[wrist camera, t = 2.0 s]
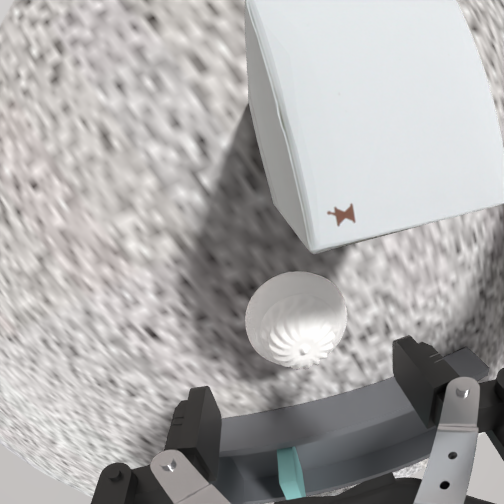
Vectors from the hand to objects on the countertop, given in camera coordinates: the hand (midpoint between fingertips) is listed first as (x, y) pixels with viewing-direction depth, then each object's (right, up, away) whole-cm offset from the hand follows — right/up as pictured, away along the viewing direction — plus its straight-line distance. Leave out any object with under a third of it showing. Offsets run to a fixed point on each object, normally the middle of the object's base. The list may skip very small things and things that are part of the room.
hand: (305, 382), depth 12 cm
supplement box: (+2, +13, +7) cm, 15 cm away
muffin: (0, +2, +10) cm, 10 cm away
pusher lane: (+7, -11, +13) cm, 18 cm away
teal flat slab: (+1, -13, +12) cm, 18 cm away
